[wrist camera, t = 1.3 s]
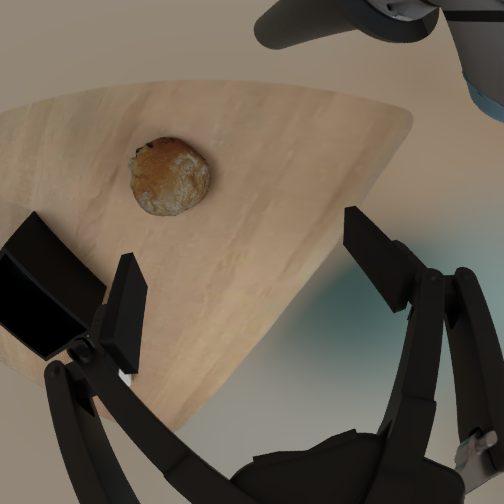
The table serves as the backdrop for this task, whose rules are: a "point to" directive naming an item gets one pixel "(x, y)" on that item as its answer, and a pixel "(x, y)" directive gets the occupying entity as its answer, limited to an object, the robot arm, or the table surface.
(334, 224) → the table surface
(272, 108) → the table surface
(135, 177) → the bread roll
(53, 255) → the black storage bin
